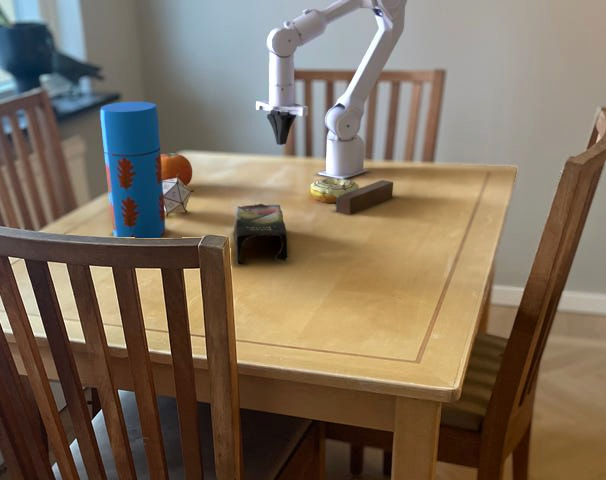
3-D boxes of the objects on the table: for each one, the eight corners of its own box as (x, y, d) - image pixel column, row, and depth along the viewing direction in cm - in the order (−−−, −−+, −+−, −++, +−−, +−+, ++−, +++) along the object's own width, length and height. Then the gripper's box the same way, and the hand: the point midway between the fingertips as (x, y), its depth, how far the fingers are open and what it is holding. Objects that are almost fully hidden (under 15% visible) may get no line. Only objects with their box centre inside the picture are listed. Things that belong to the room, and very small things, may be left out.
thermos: (157, 244, 156) (147, 112, 144) (106, 242, 158) (91, 112, 146) (171, 227, 165) (163, 101, 153) (122, 225, 167) (110, 101, 155)
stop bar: (379, 194, 181) (379, 179, 179) (392, 197, 178) (393, 182, 177) (336, 211, 171) (336, 195, 169) (349, 214, 169) (350, 198, 167)
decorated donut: (348, 207, 173) (349, 190, 171) (303, 201, 178) (303, 185, 176) (364, 194, 181) (365, 177, 179) (320, 189, 186) (321, 173, 184)
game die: (166, 231, 175) (135, 197, 170) (183, 208, 179) (154, 173, 175) (191, 218, 168) (160, 182, 164) (209, 194, 172) (178, 158, 168)
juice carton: (232, 229, 162) (232, 200, 159) (280, 228, 162) (281, 199, 159) (235, 266, 145) (234, 234, 141) (289, 265, 145) (289, 233, 142)
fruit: (176, 197, 184) (174, 162, 180) (140, 192, 189) (137, 158, 185) (201, 185, 192) (199, 152, 188) (166, 181, 197) (164, 148, 193)
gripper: (247, 83, 187) (248, 142, 193) (294, 89, 178) (293, 151, 184) (267, 79, 191) (267, 137, 198) (314, 85, 182) (313, 145, 189)
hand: (281, 143), depth 191 cm, fingers closed
